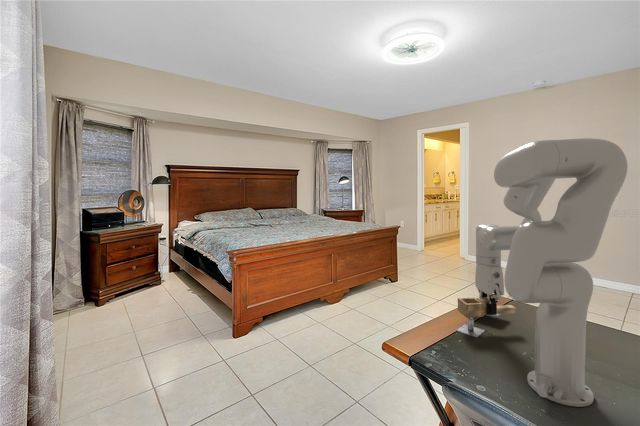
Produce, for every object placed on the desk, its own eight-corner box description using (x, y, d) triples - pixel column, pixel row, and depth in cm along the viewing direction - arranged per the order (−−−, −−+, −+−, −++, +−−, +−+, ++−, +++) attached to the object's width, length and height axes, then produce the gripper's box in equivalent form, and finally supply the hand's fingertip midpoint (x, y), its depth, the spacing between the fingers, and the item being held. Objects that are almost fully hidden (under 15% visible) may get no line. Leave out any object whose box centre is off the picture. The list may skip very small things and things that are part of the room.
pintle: (476, 337, 99) (476, 323, 98) (455, 330, 104) (455, 316, 104) (485, 330, 103) (485, 316, 103) (464, 324, 108) (464, 311, 108)
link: (466, 317, 100) (466, 303, 100) (457, 310, 106) (457, 296, 106) (518, 315, 100) (519, 300, 100) (507, 308, 106) (507, 294, 106)
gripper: (514, 265, 94) (514, 321, 95) (485, 254, 110) (485, 303, 111) (491, 266, 94) (491, 322, 95) (465, 255, 110) (465, 303, 111)
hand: (488, 311), depth 103 cm, fingers closed on link, 3 cm apart
